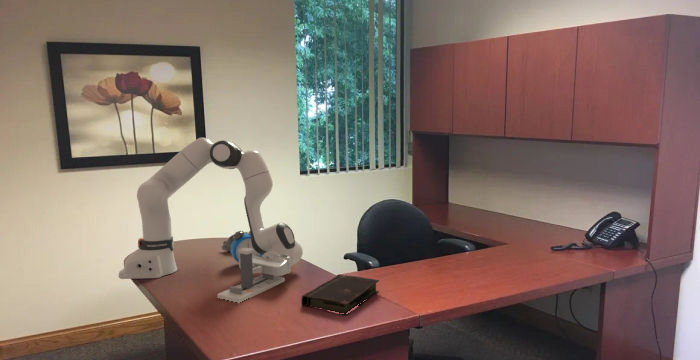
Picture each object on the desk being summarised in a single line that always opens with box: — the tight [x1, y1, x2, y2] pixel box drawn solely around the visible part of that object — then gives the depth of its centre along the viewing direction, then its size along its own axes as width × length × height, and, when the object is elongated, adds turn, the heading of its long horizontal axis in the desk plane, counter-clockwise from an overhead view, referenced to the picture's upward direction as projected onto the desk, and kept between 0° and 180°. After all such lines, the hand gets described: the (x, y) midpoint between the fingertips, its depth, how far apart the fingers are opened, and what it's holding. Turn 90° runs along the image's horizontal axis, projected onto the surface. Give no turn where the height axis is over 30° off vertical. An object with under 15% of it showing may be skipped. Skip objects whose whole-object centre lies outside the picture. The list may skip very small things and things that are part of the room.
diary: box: [300, 273, 380, 316], centre depth 175 cm, size 19×25×5 cm
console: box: [217, 273, 286, 304], centre depth 184 cm, size 26×10×4 cm, turn 150°
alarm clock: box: [230, 230, 263, 264], centre depth 214 cm, size 13×6×15 cm, turn 116°
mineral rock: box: [221, 230, 250, 252], centre depth 236 cm, size 13×11×10 cm
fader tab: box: [238, 247, 254, 289], centre depth 181 cm, size 4×4×14 cm
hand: (249, 271), depth 182 cm, fingers closed, pressing on fader tab
